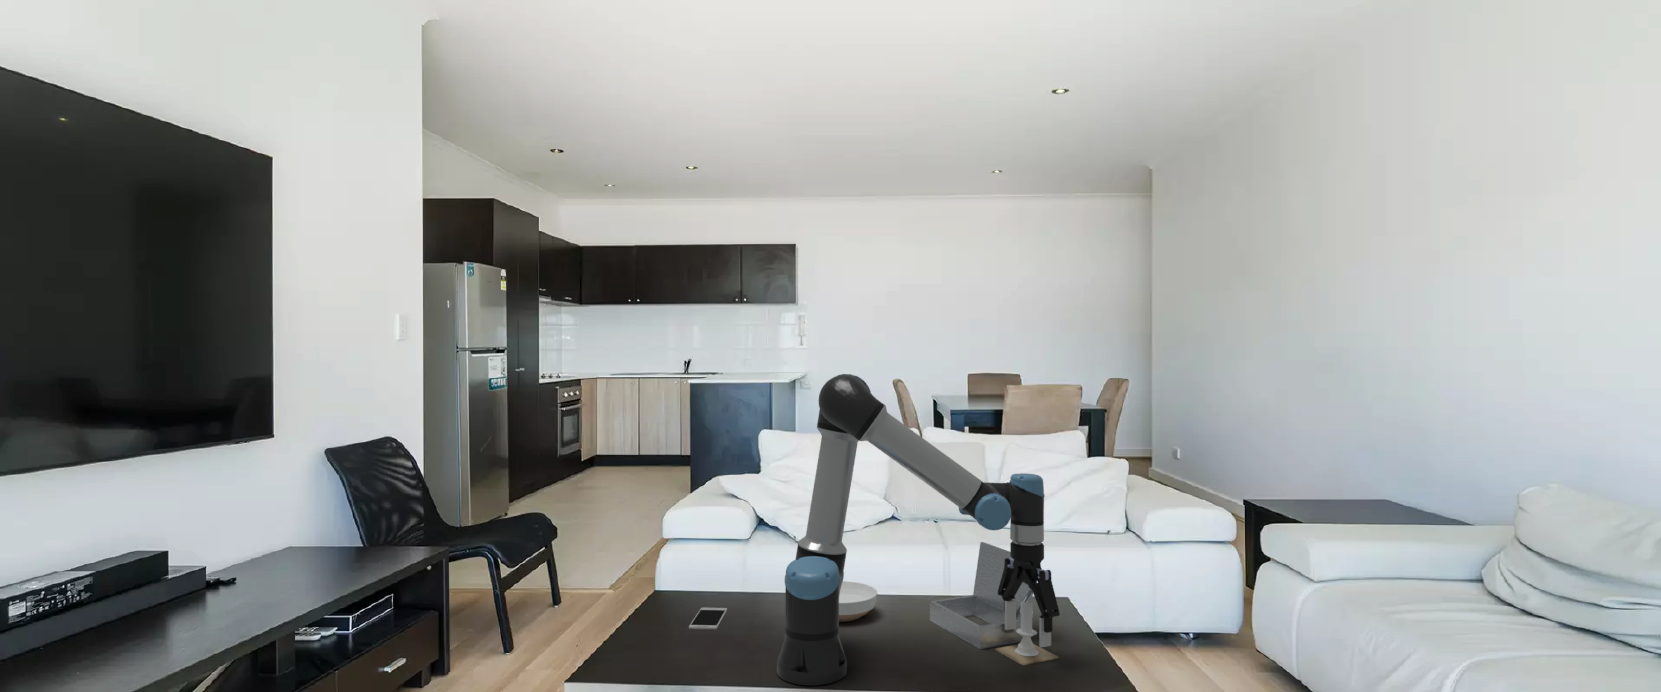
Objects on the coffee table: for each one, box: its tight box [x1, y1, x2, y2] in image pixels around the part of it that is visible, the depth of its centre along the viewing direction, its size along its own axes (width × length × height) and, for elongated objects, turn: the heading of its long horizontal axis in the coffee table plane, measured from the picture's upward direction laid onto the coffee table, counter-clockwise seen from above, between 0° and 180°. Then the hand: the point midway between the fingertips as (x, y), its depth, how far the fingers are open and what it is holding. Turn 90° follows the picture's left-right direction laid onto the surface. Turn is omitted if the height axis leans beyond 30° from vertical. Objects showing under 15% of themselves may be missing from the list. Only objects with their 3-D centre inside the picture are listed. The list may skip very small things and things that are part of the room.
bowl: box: [839, 580, 878, 623], centre depth 206 cm, size 20×20×6 cm
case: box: [929, 541, 1038, 650], centre depth 195 cm, size 17×23×19 cm
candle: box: [1015, 600, 1039, 657], centre depth 179 cm, size 5×5×12 cm
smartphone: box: [688, 607, 728, 630], centre depth 203 cm, size 7×16×1 cm, turn 177°
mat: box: [995, 643, 1059, 666], centre depth 178 cm, size 10×10×1 cm
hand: (1027, 637), depth 178 cm, fingers open, 12 cm apart
